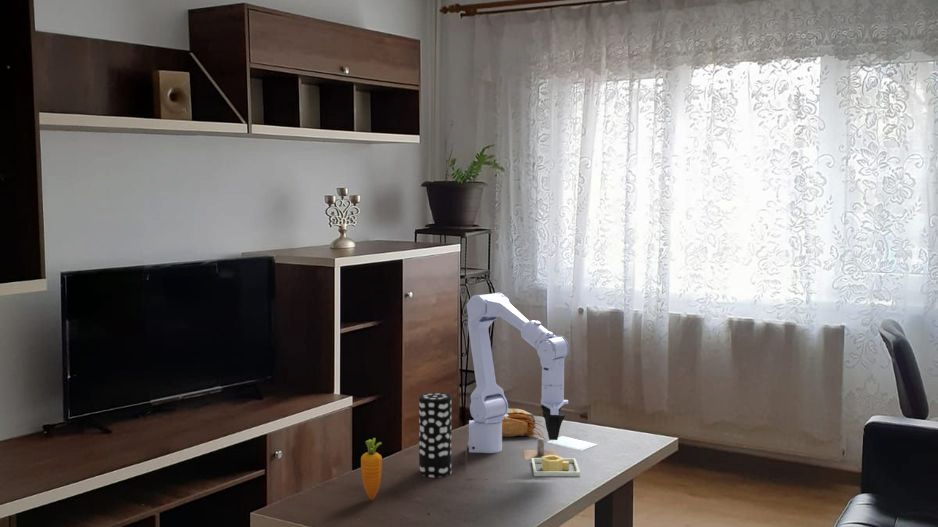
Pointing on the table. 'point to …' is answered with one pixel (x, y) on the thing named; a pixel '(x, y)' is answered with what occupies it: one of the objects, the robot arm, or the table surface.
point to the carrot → (371, 469)
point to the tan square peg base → (538, 451)
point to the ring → (554, 463)
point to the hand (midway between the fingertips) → (552, 435)
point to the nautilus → (519, 423)
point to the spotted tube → (435, 434)
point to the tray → (556, 473)
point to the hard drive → (572, 443)
